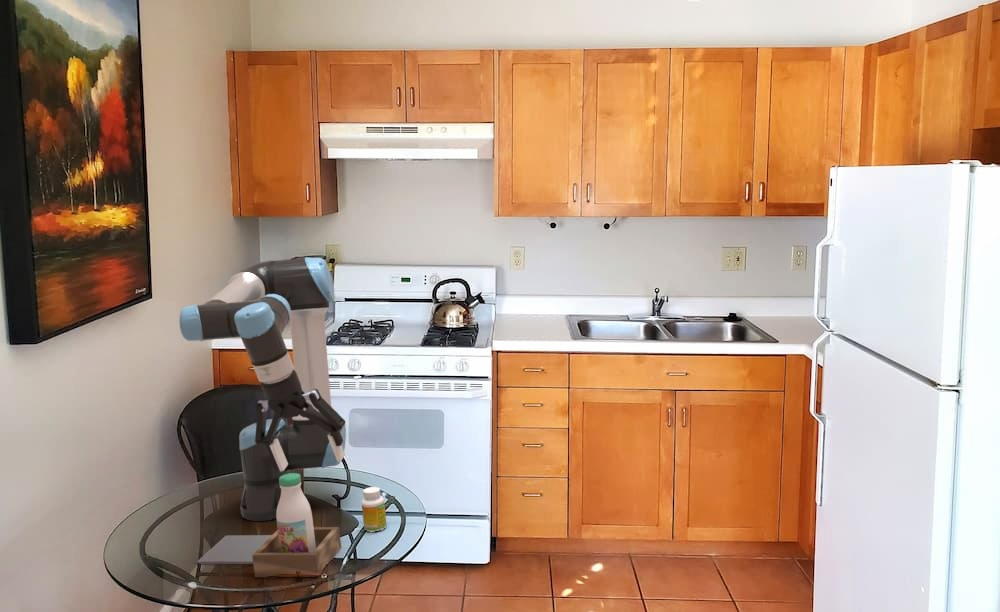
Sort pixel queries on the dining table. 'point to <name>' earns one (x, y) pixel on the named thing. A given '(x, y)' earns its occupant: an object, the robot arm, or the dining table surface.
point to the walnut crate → (297, 554)
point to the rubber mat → (234, 549)
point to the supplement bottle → (373, 510)
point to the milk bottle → (294, 517)
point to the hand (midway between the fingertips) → (312, 463)
